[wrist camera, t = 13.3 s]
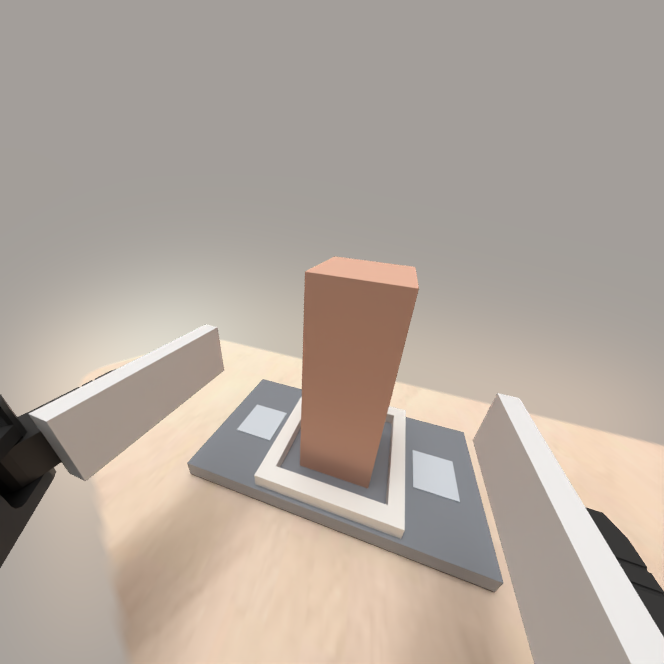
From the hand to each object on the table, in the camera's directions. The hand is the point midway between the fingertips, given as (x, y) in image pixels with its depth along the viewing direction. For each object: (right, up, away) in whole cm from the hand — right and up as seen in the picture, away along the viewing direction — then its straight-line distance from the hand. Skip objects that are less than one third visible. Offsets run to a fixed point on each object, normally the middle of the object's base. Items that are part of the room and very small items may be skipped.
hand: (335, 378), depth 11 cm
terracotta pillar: (+1, -7, +7) cm, 10 cm away
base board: (+1, -8, +8) cm, 11 cm away
